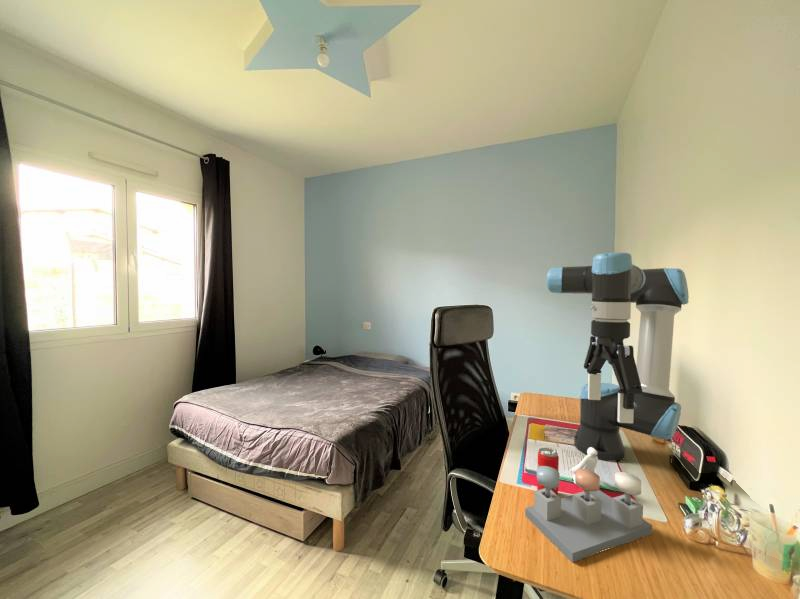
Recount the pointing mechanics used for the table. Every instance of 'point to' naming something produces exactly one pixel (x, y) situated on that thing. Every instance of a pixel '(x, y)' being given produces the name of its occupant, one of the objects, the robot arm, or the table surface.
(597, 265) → the robot arm
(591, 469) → the figurine
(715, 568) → the table surface
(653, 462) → the table surface
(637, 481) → the ivory button
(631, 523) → the button board
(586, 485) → the terracotta button
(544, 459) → the beverage can
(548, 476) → the blue-grey rounded knob
